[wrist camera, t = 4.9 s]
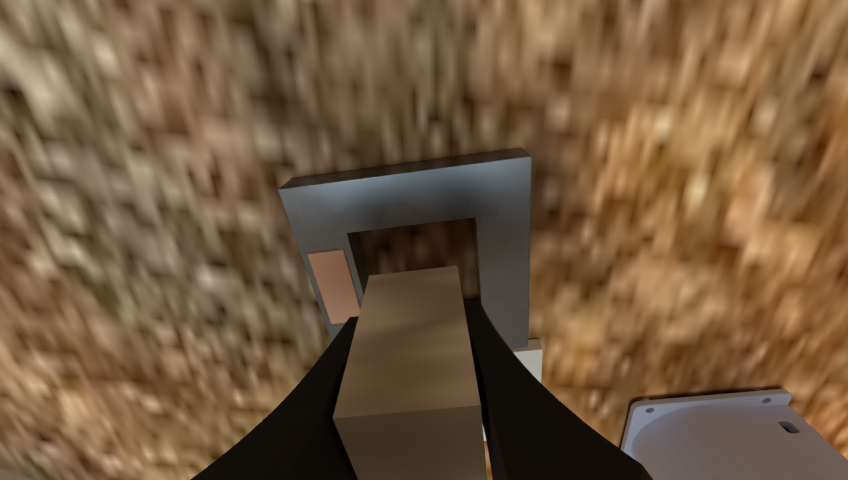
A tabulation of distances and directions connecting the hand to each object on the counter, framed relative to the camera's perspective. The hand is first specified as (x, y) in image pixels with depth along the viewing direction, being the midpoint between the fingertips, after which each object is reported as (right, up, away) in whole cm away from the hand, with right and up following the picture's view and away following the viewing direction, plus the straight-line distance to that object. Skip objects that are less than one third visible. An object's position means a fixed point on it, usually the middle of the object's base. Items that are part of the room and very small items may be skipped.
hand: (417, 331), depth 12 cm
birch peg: (0, +1, +2) cm, 2 cm away
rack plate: (0, +2, +4) cm, 5 cm away
